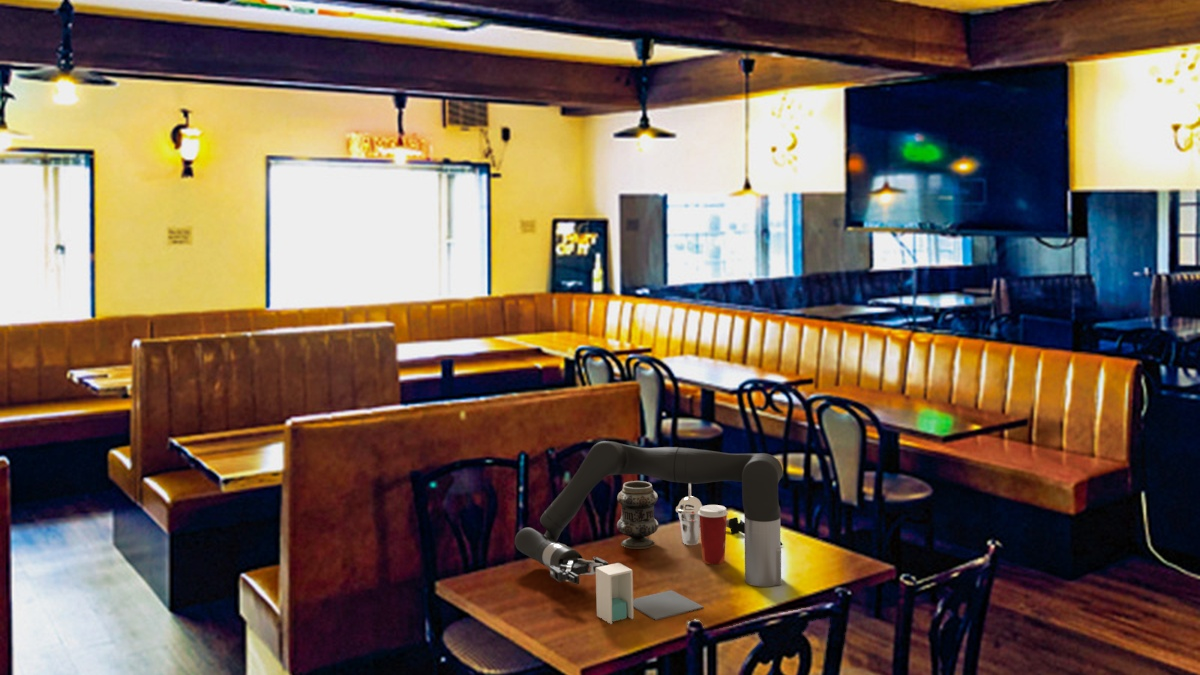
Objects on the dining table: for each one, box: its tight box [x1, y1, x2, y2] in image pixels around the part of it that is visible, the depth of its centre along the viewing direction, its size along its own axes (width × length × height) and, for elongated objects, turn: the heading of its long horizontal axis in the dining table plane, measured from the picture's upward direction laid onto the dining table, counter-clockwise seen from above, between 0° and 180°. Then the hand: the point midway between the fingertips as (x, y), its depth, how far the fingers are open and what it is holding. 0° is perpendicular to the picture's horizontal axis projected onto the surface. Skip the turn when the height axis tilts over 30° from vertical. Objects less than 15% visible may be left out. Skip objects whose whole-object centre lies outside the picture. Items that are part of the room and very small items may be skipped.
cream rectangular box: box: [595, 562, 634, 625], centre depth 258 cm, size 6×6×12 cm
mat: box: [633, 589, 704, 621], centre depth 266 cm, size 14×14×1 cm
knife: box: [726, 516, 784, 546], centre depth 321 cm, size 31×3×4 cm, turn 37°
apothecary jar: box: [616, 480, 659, 550], centre depth 314 cm, size 12×12×18 cm
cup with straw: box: [675, 483, 703, 546], centre depth 314 cm, size 8×9×20 cm
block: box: [612, 597, 627, 622], centre depth 259 cm, size 4×4×4 cm
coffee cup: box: [698, 504, 729, 565], centre depth 298 cm, size 8×8×15 cm
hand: (593, 577), depth 267 cm, fingers open, 8 cm apart
